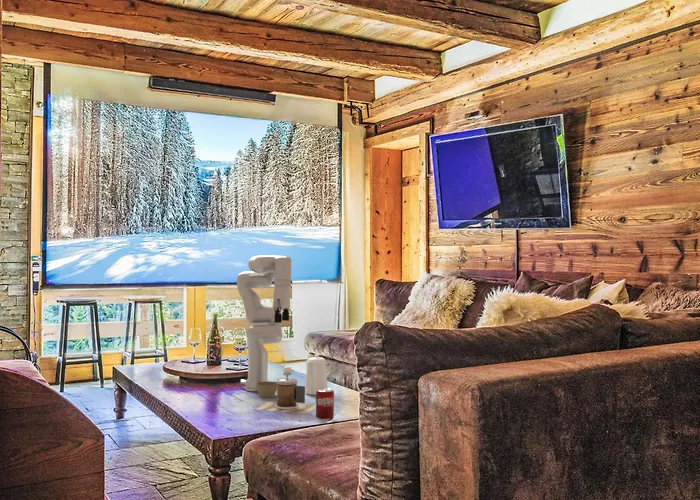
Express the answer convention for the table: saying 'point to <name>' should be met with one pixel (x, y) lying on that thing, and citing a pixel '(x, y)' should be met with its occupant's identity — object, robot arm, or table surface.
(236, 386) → the table surface
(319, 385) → the coffeepot
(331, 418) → the soda can
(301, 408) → the serving board
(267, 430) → the table surface
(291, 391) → the mug
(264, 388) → the flower pot
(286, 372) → the silver knobbed lid
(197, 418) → the table surface
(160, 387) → the table surface
